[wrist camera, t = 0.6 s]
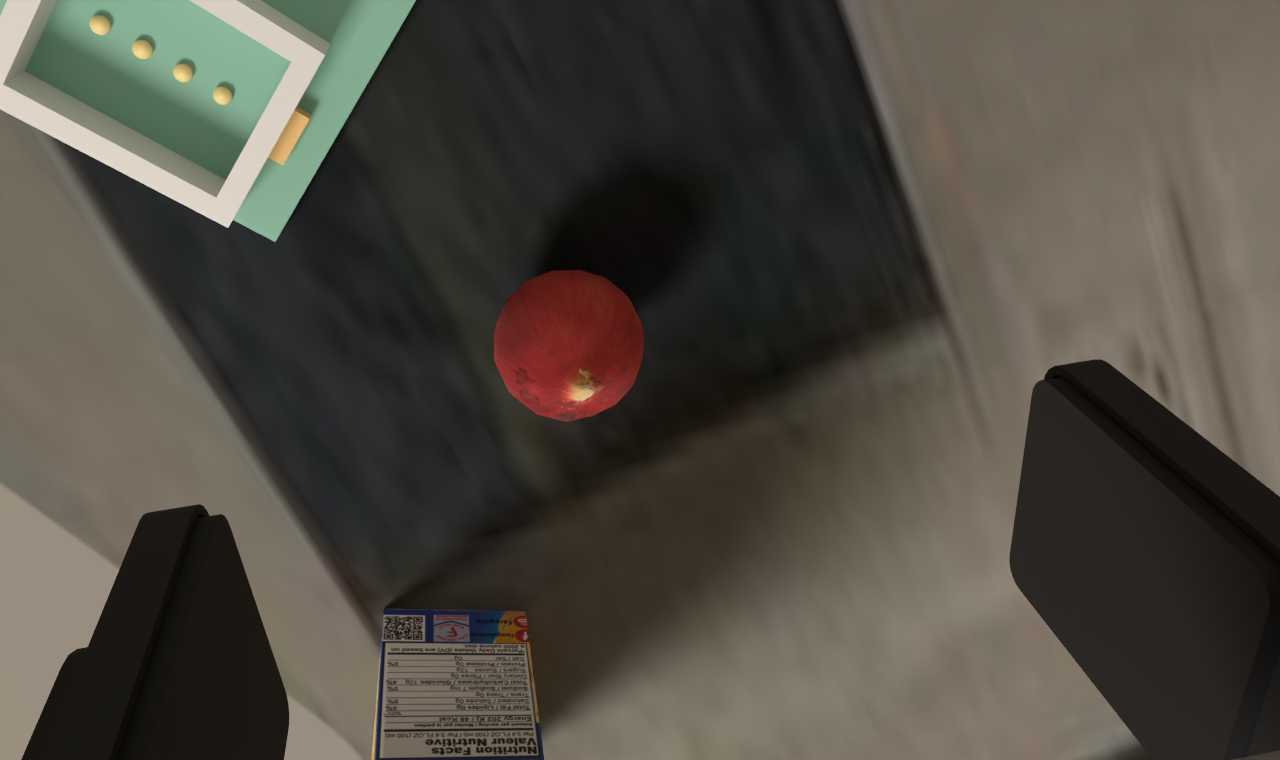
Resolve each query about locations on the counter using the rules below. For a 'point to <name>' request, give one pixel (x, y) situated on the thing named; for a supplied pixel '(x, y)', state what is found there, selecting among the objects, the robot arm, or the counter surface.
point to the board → (197, 90)
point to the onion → (568, 344)
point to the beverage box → (456, 687)
